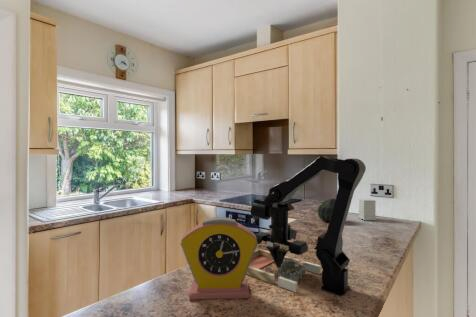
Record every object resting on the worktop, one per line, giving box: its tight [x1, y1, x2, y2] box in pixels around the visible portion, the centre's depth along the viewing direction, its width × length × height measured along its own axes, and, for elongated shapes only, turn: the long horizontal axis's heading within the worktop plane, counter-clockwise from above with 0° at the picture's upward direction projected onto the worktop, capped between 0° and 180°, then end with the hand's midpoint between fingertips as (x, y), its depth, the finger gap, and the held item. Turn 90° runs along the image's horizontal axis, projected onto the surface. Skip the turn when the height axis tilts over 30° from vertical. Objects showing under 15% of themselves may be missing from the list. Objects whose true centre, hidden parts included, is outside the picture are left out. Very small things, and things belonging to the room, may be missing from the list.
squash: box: [317, 198, 336, 223], centre depth 167 cm, size 14×15×15 cm
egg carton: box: [275, 258, 306, 283], centre depth 91 cm, size 11×8×4 cm
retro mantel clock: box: [180, 216, 259, 301], centre depth 81 cm, size 22×9×22 cm, turn 93°
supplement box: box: [358, 198, 376, 221], centre depth 172 cm, size 7×7×13 cm
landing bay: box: [277, 261, 322, 293], centre depth 89 cm, size 6×17×2 cm, turn 139°
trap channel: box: [246, 248, 301, 284], centre depth 98 cm, size 18×17×2 cm
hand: (278, 267), depth 94 cm, fingers closed
